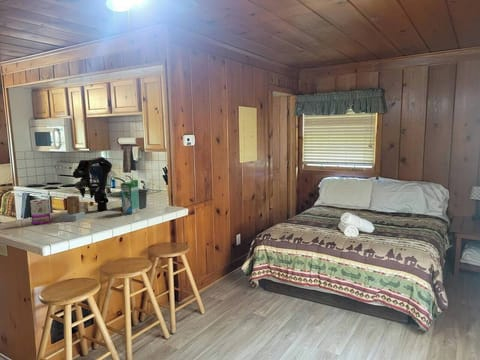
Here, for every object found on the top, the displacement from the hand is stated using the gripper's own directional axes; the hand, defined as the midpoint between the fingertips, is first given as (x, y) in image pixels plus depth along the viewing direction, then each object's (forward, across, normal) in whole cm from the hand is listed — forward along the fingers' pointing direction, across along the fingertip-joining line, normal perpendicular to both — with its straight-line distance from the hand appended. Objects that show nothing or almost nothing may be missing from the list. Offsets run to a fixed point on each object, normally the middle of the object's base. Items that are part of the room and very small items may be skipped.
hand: (87, 197), depth 264 cm
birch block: (+13, -11, +4) cm, 18 cm away
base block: (+14, +2, -14) cm, 20 cm away
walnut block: (+9, +2, -14) cm, 16 cm away
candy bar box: (+13, -7, -32) cm, 35 cm away
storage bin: (+13, +12, +36) cm, 40 cm away
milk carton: (+13, +24, +19) cm, 33 cm away
